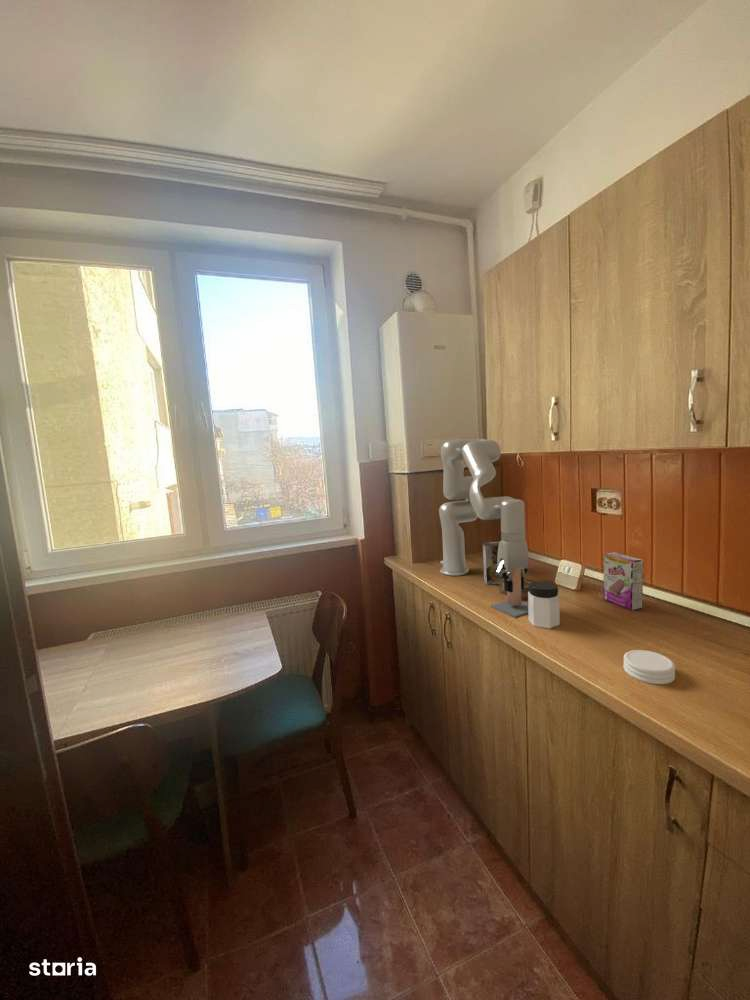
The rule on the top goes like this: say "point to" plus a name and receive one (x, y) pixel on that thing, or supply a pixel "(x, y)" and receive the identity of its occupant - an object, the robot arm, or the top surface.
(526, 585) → the brown square box
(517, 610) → the mat
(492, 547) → the coffee box
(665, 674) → the coaster
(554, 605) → the jar
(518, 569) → the peg
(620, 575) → the candy bar box
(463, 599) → the top surface
